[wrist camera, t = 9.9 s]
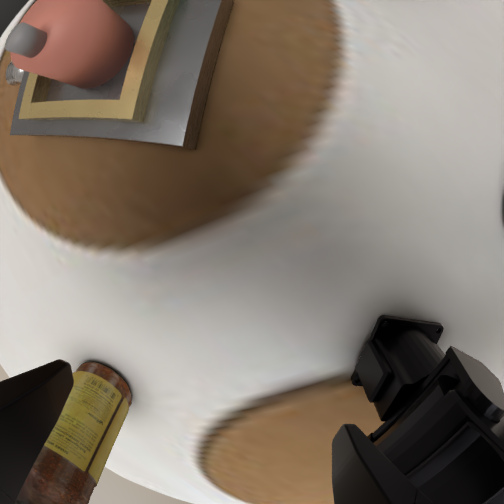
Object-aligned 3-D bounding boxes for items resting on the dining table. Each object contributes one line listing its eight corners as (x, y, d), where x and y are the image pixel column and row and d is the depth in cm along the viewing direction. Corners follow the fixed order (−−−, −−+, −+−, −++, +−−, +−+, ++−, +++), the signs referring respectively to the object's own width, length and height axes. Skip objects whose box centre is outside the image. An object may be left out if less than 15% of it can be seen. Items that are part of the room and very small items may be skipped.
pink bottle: (144, 16, 12) (88, -43, 5) (120, 88, 13) (41, 54, 6) (80, 23, 12) (15, -15, 5) (58, 90, 13) (-21, 72, 6)
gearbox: (233, 2, 14) (225, -33, 10) (195, 149, 17) (174, 144, 13) (46, 20, 14) (16, 5, 9) (14, 135, 17) (-23, 135, 12)
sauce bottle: (68, 359, 22) (-43, 505, 3) (116, 356, 22) (1, 546, 3) (99, 408, 24) (22, 552, 5) (147, 410, 24) (78, 586, 4)
